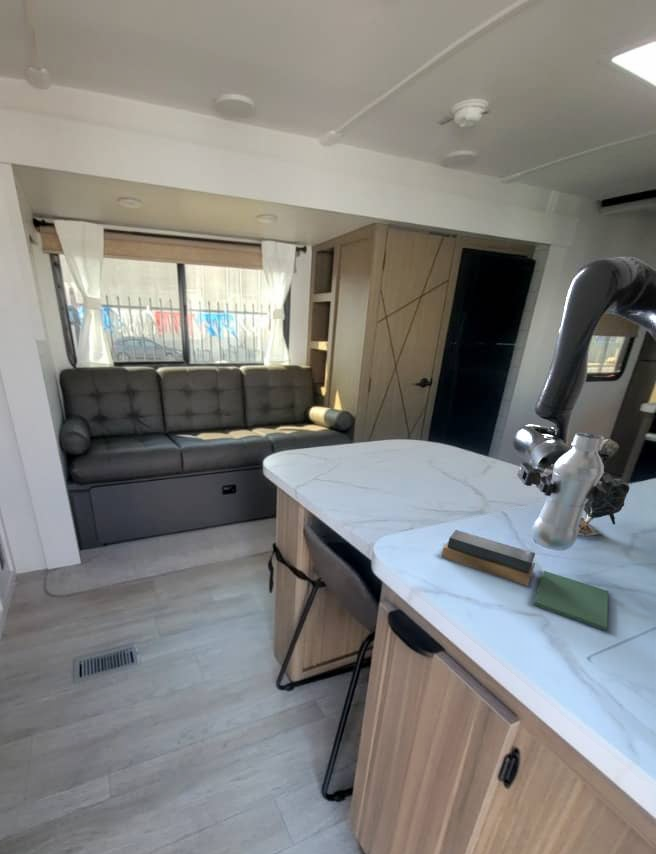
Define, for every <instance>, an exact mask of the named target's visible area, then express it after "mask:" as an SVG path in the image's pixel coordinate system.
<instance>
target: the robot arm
mask: <svg viewBox="0 0 656 854" xmlns="http://www.w3.org/2000/svg"><path fill="white" fill-rule="evenodd" d="M605 314H612V315H615V316H618V317H621V318H623V319H625V320H627V321H630V322H631V323H633V324H635V325H637V326H639V327H641V328H642V329H644V330H645V331H647V332H648V333H649V334H650V335H651V337H652V338H653V339H654V341H656V268H654V267H653V266H651V265H649V264H648V263H647V262H645V261H643V260H641V259H639V258H637V257H633V256H627V255H626V256H614V257H602V258H598V259H594V260H592V261H590V262H588V263H586V264H585V265H583V266H582V267H581V268H580V269H579V270H578V271H577V272H576V273H575V275H574V277H572V280H571V282H570V284H569V287H568V289H567V293H566V297H565V300H564V306H563V311H562V316H561V321H560V326H559V330H558V335H557V339H556V343H555V348H554V352H553V355H552V360H551V364H550V367H549V370H548V373H547V376H546V378H545V381H544V383H543V386H542V389H541V391H540V394H539V396H538V399H537V402H536V404H535V406H534V407H535V408H534V413H535V415H536V416H537V417H539V418H540V419H543V420H544V421H545V420H546V421H548V422H551V423H553V424H554V426H553V427H550V426H543V425H537V424H526V425H523V426H521V427H520V428H519V429H518V430H516V432H515V434H514V435H513V439H512V447H513V450H514V452H515V454H516V455H517V456H518V457H520V458H521V459H523V460H525V461H523V462H522V461H521V462H520V464H519V467H518V471H517V474H516V476H517V477H518V478H519V480H520V481H521V482H522V484H523V485H524V486H527V487H532V486H533V485H535V487H536V488H537V489H539V490H538V491H540V492H542V493H543V495H544V496H550V495H551V493H552V490H553V487H554V483H553V481H552V475H553V470H554V469H553V468H554V465H555V463H556V461H557V460H558V459H559V458H560V457H561V456H562V455H563V454H565V453H566V452H568V451H569V450H570V449H572V447H571V446H570V445H568V444H569V432H570V425H571V420H572V416H573V413H574V410H575V408H576V406H577V404H578V401H579V399H580V397H581V394H582V392H583V390H584V387H585V384H586V381H587V378H588V377H587V376H588V365H589V350H590V346H591V342H592V339H593V336H594V335H595V332H596V330H597V328H598V326H599V324H600V322H601V320H602V319H603V317H604V316H605ZM526 461H527V462H526ZM528 462H529V463H528ZM612 479H613V478H612V476H611V475H610V473H608V472H606V471H604V473H603V475H602V477H601V478H600V480H599V482H598V483H597V485H596V486H595V488H594V490H593V491H592V493H591V495H590V498H591V500H592V501H593V502H594V503H600V501H603V500H604V498H605V497H608V496H609V493H610V491H611V488H612V486H613V484H614V482H613V480H612Z"/></svg>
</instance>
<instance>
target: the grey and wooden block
mask: <svg viewBox="0 0 656 854" xmlns="http://www.w3.org/2000/svg"><path fill="white" fill-rule="evenodd" d="M535 556H536V552H532V551H529V550H525V549H521V548H519V547H516V546H512V545H508V544H505V543H502V542H499V541H495V540H493V539H489V538H485V537H482V536H478V535H475V534H472V533H468V532H465V531H462V530H458V529H455V530H454V532H452V534H451V535H450V536H449V538H448V540H447V542H446V544H445V545H444V546H443V548H442V553H441V555H440V557H441V558H444V559H447V560H450V561H453V562H455V563H459V564H462V565H464V566H468V567H470V568H474V569H476V570H479V571H482V572H485V573H488V574H492V575H494V576H497V577H499V578H503V579H506V580H509V581H512V582H515V583H518V584H520V585H524V586H527V587H528V586H529V584H530V582H531V581H530V580H531V578H532V575H533V572H534V569H535V566H536V562H534V559H535Z"/></svg>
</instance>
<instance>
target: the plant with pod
mask: <svg viewBox="0 0 656 854" xmlns="http://www.w3.org/2000/svg"><path fill="white" fill-rule="evenodd" d="M619 449H620V445H619V444H618V443H617V442H616V441H615V440H612V438H604V440H603V443H602V448H601V450H598V454H599V456H600V458H601V459H603V460H602V463H603V466H604V467H605V466H606V463H607V460H610V459H611V458H612V457H614V456H615V454H616V453H617V452H618V450H619ZM612 480H613V482H614V484H613V486H612V488H611V491H610V493H609V496H608V497H605V498H604V500H603V501H600V503H594V502H593V501H592V500H591V498H590V497H589V499H588V501H587V502H586V505H585V507H584V510H583V512H585V516H584V517H581V520H580V524H579V532H578V536H584V537H586V538H587V537H590V536H598V535H602V534H603V533H601V532H598V531H597V530H596V529H594V527H592V525H591V524H589V523H591V522H592V521H593V520H594V519H598V518H602V517H606V516H608V517H609V519H610V520H611V523H612V525H616V520H615V519H616V517H615V514H617V513H619V512H621V511H622V509H623V507H624V506H625V500H626V498H627V496H628V493H629V492H630V487H631V486H630V485H629V483H628V482H626V481H624V480H622V479H621V478H612Z"/></svg>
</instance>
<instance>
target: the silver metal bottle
mask: <svg viewBox="0 0 656 854" xmlns="http://www.w3.org/2000/svg"><path fill="white" fill-rule="evenodd" d="M604 439H605V437H604V436H603V435H600V434H595V433H591V432H590V433H589V432H576V433H575V434H574V436H573V440H572V441H571V444H570V445H571V446H572V447H571V448H572V449H570V450H569V451H568V452H566V453H565V454H563V455H562V456H561V457H560V458H559V459H558V460H557V461H556V463H555V465H554V468H553V469H554V470H553V475H552V481H553V483H554V487H553V490H552V493H551V495H550V496H547V497H546V500H545V502H544V505H543V507H542V509H541V511H540V513H539V515H538V517H537V518H536V519H535V521H534V523H533V524H532V527H531V532H530V536H531V538H532V541H533V542H534V543H535V544H536V545H538V546H539V547H542V548H544V549H545V548H546V549H549V550H553V551H566V550H569V549H570V548H572V547H573V546H574V544H575V543H576V541H577V540H578V537H579V534H578V532H579V524H580V520H581V517H582V516H583V513H584V507H585V505H586V502H587V501H588V499H589V497H590V495H591V493H592V491H593V490H594V488H595V486H596V485H597V483H598V482H599V480H600V478H601V477H602V475H603V473H604V472H605V471H604V470H605V466H603V460H602V457H600V456H599V454H598V450H601V448H602V443H603V440H604ZM582 518H583V517H582Z"/></svg>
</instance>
